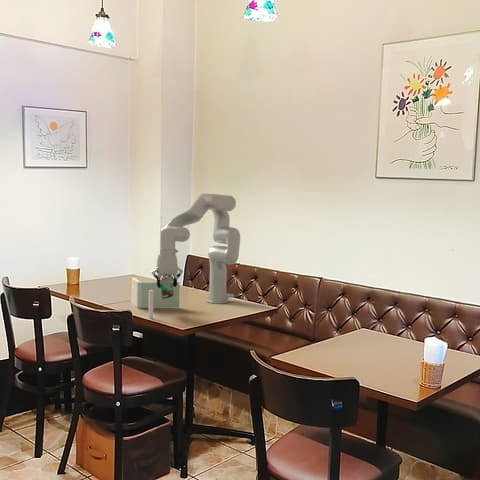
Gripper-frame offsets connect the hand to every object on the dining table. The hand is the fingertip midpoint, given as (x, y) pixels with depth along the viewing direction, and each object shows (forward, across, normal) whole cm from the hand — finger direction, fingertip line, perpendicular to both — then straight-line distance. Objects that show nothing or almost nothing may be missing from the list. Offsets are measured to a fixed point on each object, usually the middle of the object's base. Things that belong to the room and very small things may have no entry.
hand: (166, 286), depth 298 cm
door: (+14, -1, -14) cm, 19 cm away
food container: (+5, -2, 0) cm, 5 cm away
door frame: (+14, +10, -11) cm, 21 cm away
